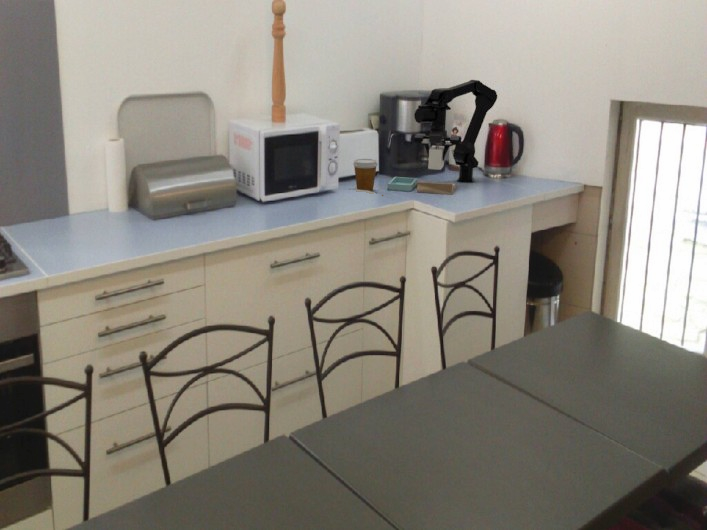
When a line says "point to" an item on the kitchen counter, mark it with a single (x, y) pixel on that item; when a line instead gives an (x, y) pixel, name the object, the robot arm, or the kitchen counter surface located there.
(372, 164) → the disposable coffee cup
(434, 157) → the white handled drawer
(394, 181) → the tray
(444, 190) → the bay
